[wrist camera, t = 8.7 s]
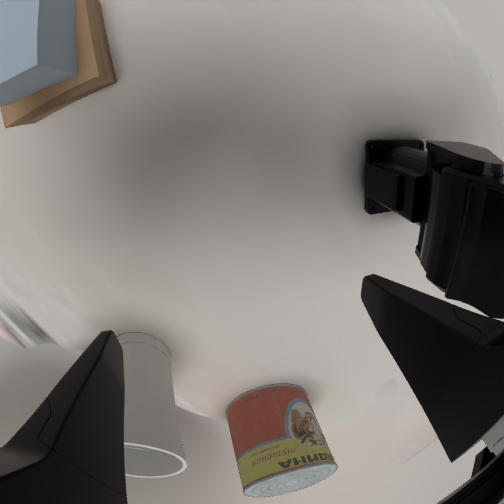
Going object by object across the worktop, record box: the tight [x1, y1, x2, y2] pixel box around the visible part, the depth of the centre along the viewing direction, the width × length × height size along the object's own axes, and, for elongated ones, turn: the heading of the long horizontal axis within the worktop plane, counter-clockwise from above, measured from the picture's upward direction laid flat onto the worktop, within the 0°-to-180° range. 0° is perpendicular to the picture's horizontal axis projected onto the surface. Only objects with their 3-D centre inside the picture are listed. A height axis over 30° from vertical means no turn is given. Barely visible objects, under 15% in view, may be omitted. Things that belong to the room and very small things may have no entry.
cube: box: [0, 0, 78, 105], centre depth 7 cm, size 5×5×5 cm
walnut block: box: [0, 0, 117, 128], centre depth 12 cm, size 7×7×4 cm
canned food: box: [226, 384, 338, 497], centre depth 30 cm, size 11×11×12 cm
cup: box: [117, 332, 187, 478], centre depth 21 cm, size 8×8×12 cm
